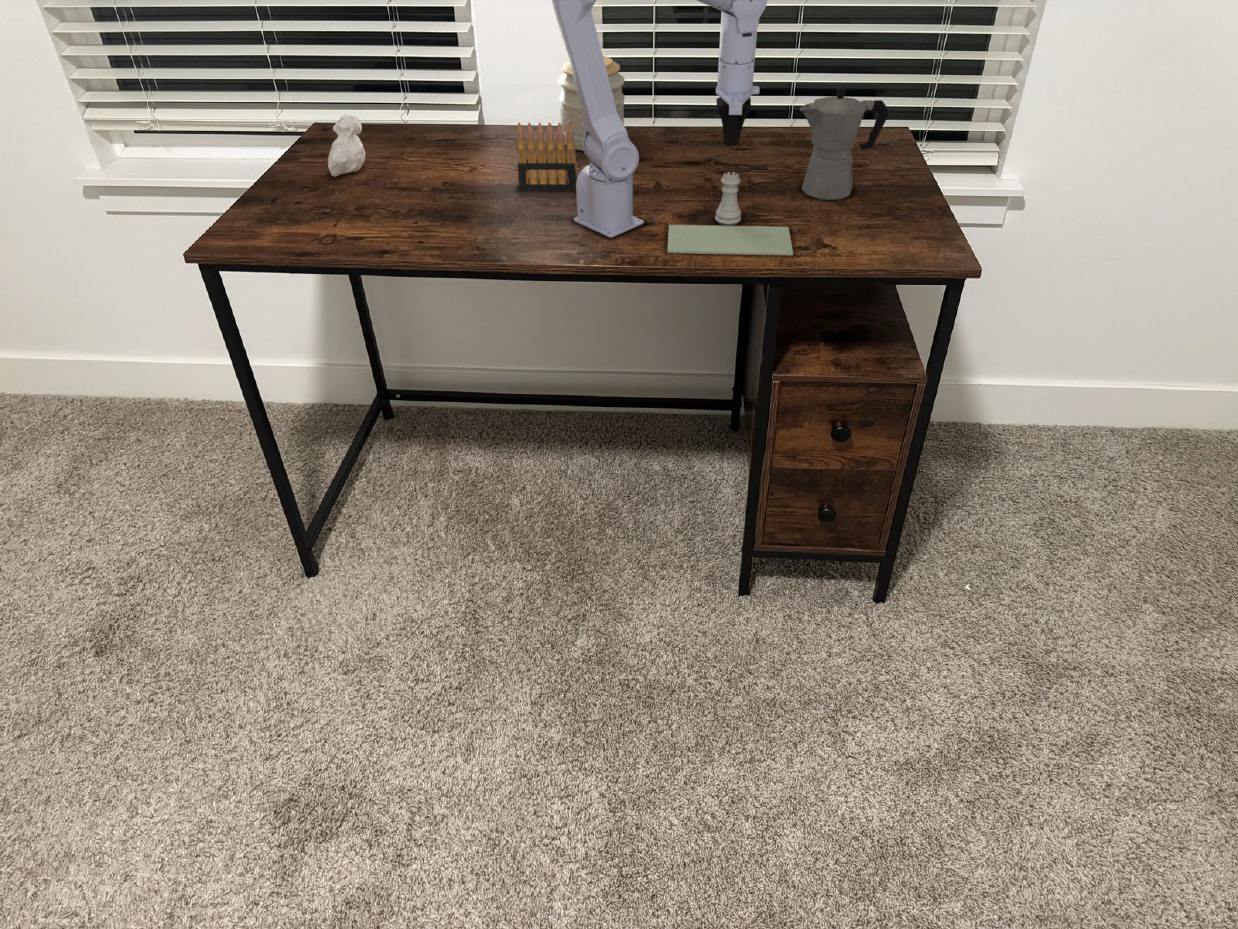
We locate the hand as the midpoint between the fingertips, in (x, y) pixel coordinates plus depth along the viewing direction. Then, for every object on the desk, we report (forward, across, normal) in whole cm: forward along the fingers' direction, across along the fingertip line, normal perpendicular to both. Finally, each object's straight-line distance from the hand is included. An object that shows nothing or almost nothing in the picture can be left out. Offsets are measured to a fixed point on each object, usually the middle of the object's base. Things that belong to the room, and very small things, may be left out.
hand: (730, 144), depth 150 cm
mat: (+10, -15, 0) cm, 18 cm away
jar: (+10, +29, +26) cm, 41 cm away
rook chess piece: (+10, -8, 0) cm, 13 cm away
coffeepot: (+10, +6, -19) cm, 23 cm away
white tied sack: (+10, +12, +72) cm, 73 cm away
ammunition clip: (+10, +4, +32) cm, 34 cm away
